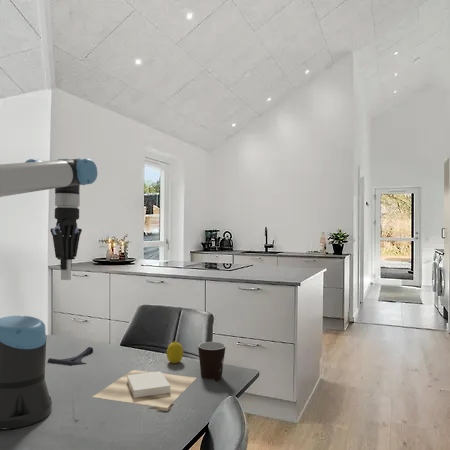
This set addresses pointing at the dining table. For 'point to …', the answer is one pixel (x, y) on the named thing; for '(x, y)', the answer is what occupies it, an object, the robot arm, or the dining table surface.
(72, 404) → the dining table surface
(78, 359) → the dark grey forked piece
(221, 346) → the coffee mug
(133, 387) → the tile
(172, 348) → the lemon
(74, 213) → the robot arm
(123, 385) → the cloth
